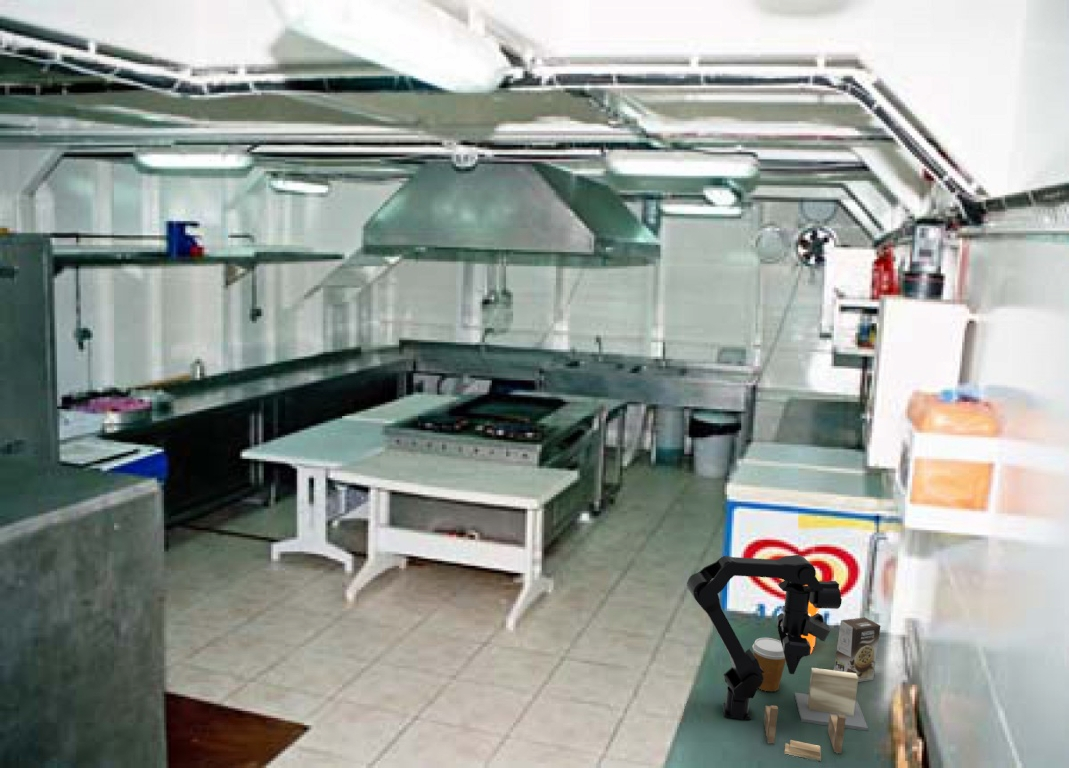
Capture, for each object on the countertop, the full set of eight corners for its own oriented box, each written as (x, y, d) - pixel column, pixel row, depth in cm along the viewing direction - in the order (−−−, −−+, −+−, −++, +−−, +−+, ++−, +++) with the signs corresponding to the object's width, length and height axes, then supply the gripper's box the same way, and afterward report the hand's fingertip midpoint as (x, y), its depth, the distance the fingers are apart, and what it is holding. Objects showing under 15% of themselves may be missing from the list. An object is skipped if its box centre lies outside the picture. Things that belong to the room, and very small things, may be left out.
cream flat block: (807, 703, 240) (811, 667, 238) (851, 709, 238) (856, 673, 236) (808, 709, 237) (813, 672, 235) (853, 715, 235) (858, 678, 234)
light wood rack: (763, 722, 230) (767, 688, 229) (834, 732, 228) (838, 698, 226) (767, 743, 220) (771, 708, 219) (841, 753, 218) (845, 718, 217)
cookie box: (848, 684, 254) (856, 629, 251) (832, 673, 260) (839, 619, 257) (874, 680, 258) (881, 625, 255) (857, 669, 263) (864, 616, 261)
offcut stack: (784, 748, 220) (785, 738, 219) (819, 755, 217) (821, 745, 217) (784, 755, 216) (785, 746, 216) (820, 763, 214) (821, 753, 214)
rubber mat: (794, 695, 245) (794, 692, 245) (856, 703, 243) (857, 700, 243) (801, 721, 232) (801, 718, 232) (867, 730, 230) (867, 727, 229)
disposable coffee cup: (748, 675, 255) (752, 634, 253) (783, 681, 253) (788, 640, 251) (748, 691, 246) (753, 649, 244) (785, 697, 244) (790, 654, 242)
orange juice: (810, 654, 272) (818, 589, 269) (780, 646, 275) (788, 582, 272) (815, 644, 279) (822, 581, 276) (785, 637, 282) (792, 574, 279)
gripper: (835, 626, 221) (828, 687, 223) (823, 597, 239) (816, 653, 241) (787, 620, 222) (780, 681, 225) (779, 591, 240) (773, 648, 243)
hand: (789, 665), depth 233 cm, fingers open, 9 cm apart
